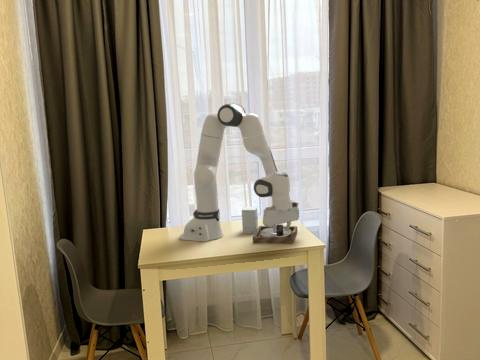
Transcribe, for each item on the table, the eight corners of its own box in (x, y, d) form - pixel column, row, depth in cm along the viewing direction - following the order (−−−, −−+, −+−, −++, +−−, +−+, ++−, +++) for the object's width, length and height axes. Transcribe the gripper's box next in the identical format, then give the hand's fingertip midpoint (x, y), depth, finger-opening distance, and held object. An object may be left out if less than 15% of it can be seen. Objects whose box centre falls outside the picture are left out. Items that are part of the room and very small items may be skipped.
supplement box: (256, 233, 258) (255, 210, 255) (242, 233, 259) (241, 210, 257) (258, 229, 265) (257, 206, 263) (245, 229, 266) (243, 206, 264)
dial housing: (252, 243, 242) (252, 236, 241) (259, 231, 261) (259, 225, 260) (293, 243, 238) (293, 237, 237) (297, 231, 257) (297, 225, 256)
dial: (255, 233, 254) (255, 220, 253) (284, 229, 259) (284, 216, 258) (266, 241, 239) (265, 228, 238) (296, 237, 244) (296, 224, 242)
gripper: (267, 209, 233) (268, 237, 235) (301, 202, 243) (301, 229, 246) (259, 206, 238) (260, 234, 241) (293, 200, 249) (293, 226, 251)
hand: (281, 231), depth 243 cm, fingers open, 6 cm apart
